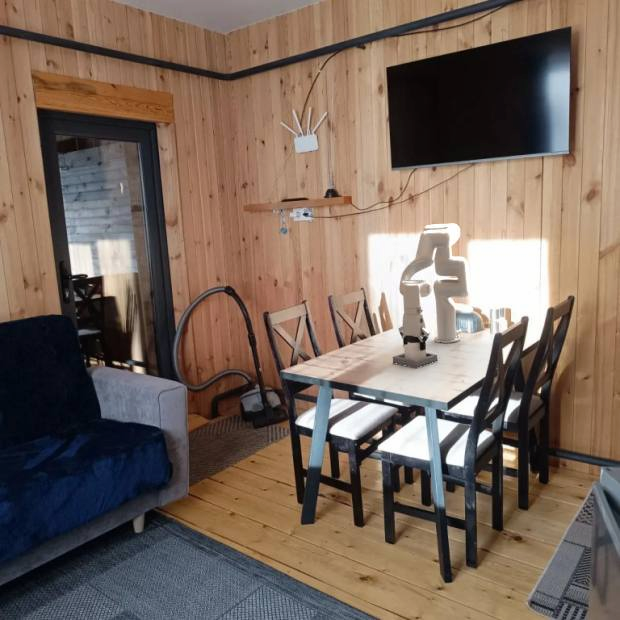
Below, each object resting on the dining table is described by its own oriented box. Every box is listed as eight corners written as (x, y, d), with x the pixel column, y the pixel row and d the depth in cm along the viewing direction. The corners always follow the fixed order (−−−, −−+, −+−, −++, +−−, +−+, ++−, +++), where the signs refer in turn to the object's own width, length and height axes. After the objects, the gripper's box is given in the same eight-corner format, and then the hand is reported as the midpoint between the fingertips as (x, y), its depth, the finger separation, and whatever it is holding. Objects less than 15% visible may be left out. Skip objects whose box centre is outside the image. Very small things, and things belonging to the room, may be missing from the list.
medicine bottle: (426, 360, 260) (425, 334, 258) (412, 363, 257) (411, 336, 255) (418, 357, 266) (417, 331, 264) (404, 359, 264) (403, 334, 262)
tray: (413, 356, 272) (413, 350, 271) (437, 361, 261) (437, 354, 260) (392, 363, 263) (392, 356, 263) (416, 368, 252) (416, 361, 252)
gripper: (433, 311, 253) (435, 349, 256) (403, 307, 267) (405, 344, 270) (422, 314, 249) (423, 353, 252) (392, 310, 262) (394, 347, 265)
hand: (414, 348), depth 261 cm, fingers open, 9 cm apart
